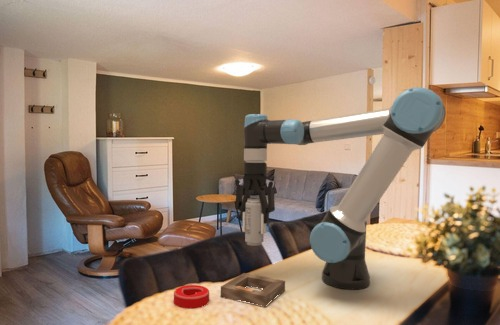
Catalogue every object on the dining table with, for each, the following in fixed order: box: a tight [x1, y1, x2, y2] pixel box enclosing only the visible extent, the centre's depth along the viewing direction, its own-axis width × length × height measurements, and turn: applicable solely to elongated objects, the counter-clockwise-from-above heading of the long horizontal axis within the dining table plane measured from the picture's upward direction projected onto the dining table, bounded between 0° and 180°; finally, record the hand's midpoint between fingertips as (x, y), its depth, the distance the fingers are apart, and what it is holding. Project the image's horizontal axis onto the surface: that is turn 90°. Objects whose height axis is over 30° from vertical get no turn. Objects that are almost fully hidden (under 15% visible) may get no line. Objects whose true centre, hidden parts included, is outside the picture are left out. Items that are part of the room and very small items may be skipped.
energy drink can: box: [244, 197, 264, 247], centre depth 125 cm, size 6×6×15 cm
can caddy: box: [220, 272, 286, 307], centre depth 111 cm, size 14×14×3 cm
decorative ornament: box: [173, 284, 210, 310], centre depth 105 cm, size 10×10×3 cm
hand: (254, 231), depth 125 cm, fingers closed on energy drink can, 6 cm apart
